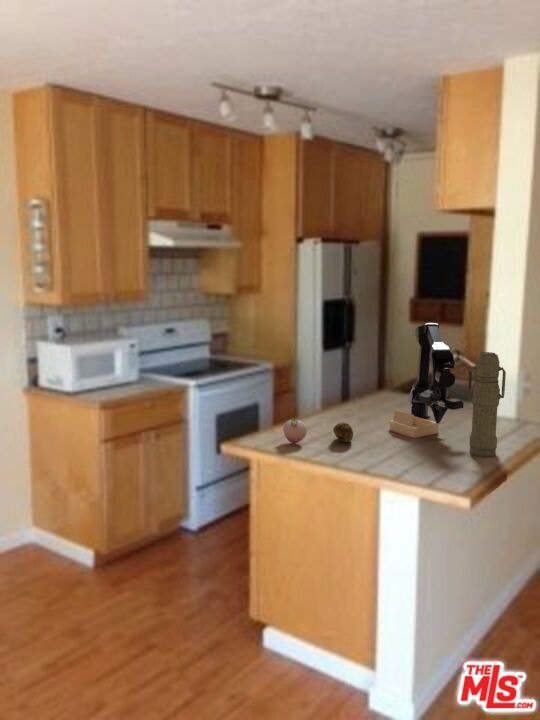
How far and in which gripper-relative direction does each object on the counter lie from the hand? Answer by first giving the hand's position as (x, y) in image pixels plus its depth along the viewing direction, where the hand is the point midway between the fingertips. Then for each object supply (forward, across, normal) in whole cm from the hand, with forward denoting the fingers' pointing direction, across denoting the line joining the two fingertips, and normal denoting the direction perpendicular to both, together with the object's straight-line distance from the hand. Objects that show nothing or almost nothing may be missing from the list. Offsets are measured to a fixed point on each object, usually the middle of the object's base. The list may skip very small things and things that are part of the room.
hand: (437, 423), depth 251 cm
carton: (+6, -10, -2) cm, 12 cm away
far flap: (+2, -10, -8) cm, 13 cm away
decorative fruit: (+6, -22, -49) cm, 55 cm away
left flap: (+2, -4, -2) cm, 5 cm away
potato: (+6, -14, -34) cm, 37 cm away
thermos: (+6, +22, -2) cm, 23 cm away
